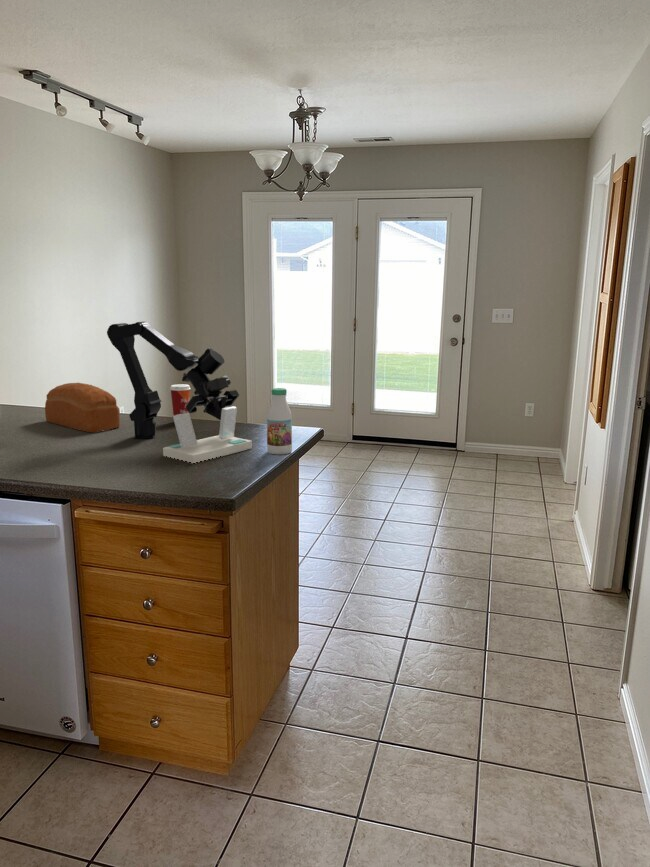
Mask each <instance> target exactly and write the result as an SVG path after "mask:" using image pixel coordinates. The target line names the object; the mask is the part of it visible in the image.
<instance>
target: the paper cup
mask: <svg viewBox="0 0 650 867" xmlns="http://www.w3.org/2000/svg"><path fill="white" fill-rule="evenodd" d="M169 390H170V394H171V395H170V396H171V405H172V414H173V416H174V415H178V414H183V413H189V412H188V411H187V409H186V405H187V403H188V402H189V400H190V399H191V387H190V385H189V384H186V383H184V384H182V383H179V384H178V383H177V384H171V386H170V388H169ZM189 414H190V415H191V413H189Z"/></svg>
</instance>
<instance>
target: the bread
mask: <svg viewBox="0 0 650 867" xmlns="http://www.w3.org/2000/svg"><path fill="white" fill-rule="evenodd" d="M44 411H45V412H44V413H45V416H44V417H45V421H46V422H48V423H52V424H55V425H58V424H59V425H58V426H62V427H66V428H70V429H73V428H74V429H73V430H78V431H81V430H82V432H85V431H86V432H85V433H98V432H97V431H102V430H108V429H112V430H114V429H113V428H116V429H118V428H117V427H119V428H120V426H121V424H120V417H121V416H120V408H119V407H118V405H117V399H116V397H115V396H114V395H112V393H110V392H108V391H106V390H104V389H103V388H100V387H98V386H95V385H92V384H89V383H88V384H87V383H82V382H69V383H63V384H60V385H57V386H55V387H54V388H52V389H50V390H49V391H48V393H47V394H46V401H45V405H44ZM108 431H109V430H108Z"/></svg>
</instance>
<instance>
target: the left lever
mask: <svg viewBox="0 0 650 867" xmlns="http://www.w3.org/2000/svg"><path fill="white" fill-rule="evenodd" d="M190 415H191V413H190V414H189V413H183V414H178V415H173V416H172V418H173V422H174V426H175V428H176V433H177V438H178V440H179V444H180V445H181V448H184V447H189V446H193V445H197V440H198V439H197V438H196V437H197V436H196V434H195V430H194V426H193V422H192V418H191V416H190Z"/></svg>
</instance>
